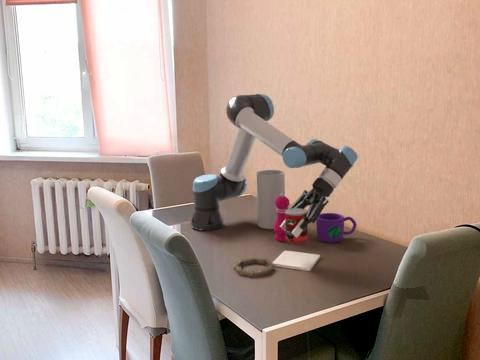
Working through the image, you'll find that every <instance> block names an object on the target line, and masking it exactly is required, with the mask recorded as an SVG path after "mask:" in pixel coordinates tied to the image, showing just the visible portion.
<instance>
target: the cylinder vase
mask: <svg viewBox="0 0 480 360" xmlns="http://www.w3.org/2000/svg"><path fill="white" fill-rule="evenodd" d="M285 175H286V173H285V171H284V170H278V169H263V170H259V171H257V172H256V194H257V195H256V199H257V201H256V203H257V206H256V207H257V226H258V227H259V228H261V229H262V230H263V229H264V230H274V226H275V223H276V221H277V218H278V213H277V211H276V210H277V209H276V208H277V207H276V205H275V200H276V198H278V197H280V194H281V193H284V197H286V184H285V183H286V182H285V181H286V180H285V177H286V176H285Z"/></svg>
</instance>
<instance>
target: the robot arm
mask: <svg viewBox="0 0 480 360" xmlns="http://www.w3.org/2000/svg"><path fill="white" fill-rule="evenodd" d="M274 113H275V106H274V103H273V100H272V99H271V98H270V97H269V96H268V95H267V94H262V93H261V94H260V93H255V94H238V95H236V96H234V97H232V98H231V99H230V100H229V101H228V102H227V105H226V116H227V119H228V120H229V122H230V123H231V124H232V125H234V126H235V127H236V128H237V132H236V135H235V138H234V141H233V144H232V147H231V150H230V154H229V156H228V159H227V162H226V165H225V166H224V167H222V168H221V170H220V174H219V175H217V174H213V173H210V174H203V175H200V176H197V177H196V178H194V180H193V182H192V191H193V193H192V195H193V214H192V218H191V220H190V226H191V225H192V226H193V227H194V228H197V229H202V230H208V231H215V230H214V229H216V230H219V229H222V228H223V227H224V218H223V215H222V213H221V211H220V202H222V201H223V202H224V201H226V200H232V199H236V198H238V197H241V196H243V195H244V193H245V192H246V190H247V179H246V175H245V173H244V171H245V169H246V165H247V163H248V161H249V158H250V154H251V152H252V149H253V146H254V144H255V140H256V139H257V140H259V141H260V142H262V143H263V144H264V145H265V146H267V147H269V148H270V149H271V150H272V151H273V152H275V153H277V154H278V155H280V156H281V157H282V161H283V163H284V164H285V166H286V167H287V168H289V169H298V168H302V167H305V166H310V165H315V164H322V165H323V166H325V167H324V169H323V170H322V171H321V172H320V174H319V175H318V177H317V178H316V179H315V180H314V181H313V183H312V184H311V186H312V189H311V190H309V191H307V190H306V189H305V190H303V192H302V193H301V195H300V196H299V197H298V198H297V199H296V200H295V201H294V202H293V203H292V205H291V206H290V207H288V209H292V208H301V209H306V208H307V207H308V206H309V207H308V209H307V214H306V216H305V217H303V218H304V219H305V220H304V219H303V218H302V220H301V221H300V222H299V223H298V225H297V226H296V227H295V229H294V230H293V231H292V232H291V233H292V234H293V235H294V236H295V237H298V236H299V235H300V233H301V232H302V231H303V230H304V229H305V228H306V226H307V225H309V224H311V223H312V224H316V220H317V218H318V216H319V215H320V214H322V212H323V210H324V208H325V207H326V206H327V205H328V204H329V202H330V201H329V200H328V198H329V197H330V196H331V194H333V192H334V189H336V188H338V185H339V184H340V183H341V181H342V180H343V178H344V177H345V176H346V175H347V174H348V173H349V171H350V170H351V169H352V168H353V167H354V164H355V163H356V162H357V160H358V158H359V157H358V154H357V152H356V151H355V150H354V149H353V148H351V147H350V146H348V145H342V146H341V147H339V148H335V147H334V146H332V145H329V144H328V143H326V142H324V141H322V140H319V139H317V138H316V139H315V138H313V139H310V141H307V143H306V144H304V145H302V144H300V143H299V142H298V141H296V140H294V139H293V138H291V137H289V136H288V135H287V134H285V133H284V132H282V131H281V130H280V129H278V128H277V127H275V126H274V125H272V124H271V123H269V121H270V120H271V119H272V118H273V116H274V115H275V114H274ZM280 227H281V228H282V229H283V230H284V231H285V220H284V222H283V223H282V224H281V226H280ZM202 230H201V231H202Z"/></svg>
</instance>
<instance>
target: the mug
mask: <svg viewBox="0 0 480 360" xmlns="http://www.w3.org/2000/svg"><path fill="white" fill-rule="evenodd" d="M346 221H350V222H351V224H352V227H351V230H349V231H345V230H344V229H345V222H346ZM315 225H316V226H315V227H316V236H317V237H316V238H317V239H318V240H319V241H321V242H323V243H330V244H331V243H333V244H334V243H338V242H340V241H341V240H343V238H344V236H347V235H351V234H353V233H354V232H355V231H356V228H357V225H358V224H357V222H356V220H355V219H354V218H353V217H351V216H345V215H342V214H340V213H337V212H336V213H335V212H334V213H333V212H324V213H320V215H319V216H318V218H317V220H316V221H315Z"/></svg>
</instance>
